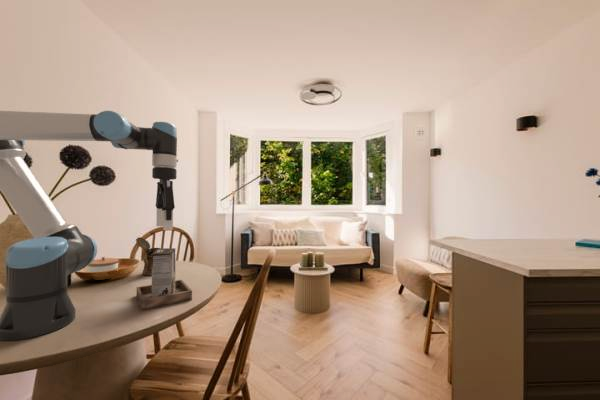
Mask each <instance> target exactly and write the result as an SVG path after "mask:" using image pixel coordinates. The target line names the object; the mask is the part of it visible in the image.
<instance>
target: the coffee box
mask: <svg viewBox="0 0 600 400" xmlns="http://www.w3.org/2000/svg"><path fill="white" fill-rule="evenodd" d="M175 281H176V248H168V247H167V248H166V247H165V248H161V249H156V250H155V252H154V253H153V254H152V275H151V285H152V298H154V297H159V296H164V295H169V294H174V293H175Z"/></svg>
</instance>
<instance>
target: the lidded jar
mask: <svg viewBox="0 0 600 400" xmlns="http://www.w3.org/2000/svg"><path fill="white" fill-rule="evenodd" d="M86 267H87V273H88V272H102V271H109V270H113V269H116V268H118V269H119V258H115V257H105V256H101V258H97V259H94V260H93V261H92V262H91V263H90V264H89V265H87V266H86Z"/></svg>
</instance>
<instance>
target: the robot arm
mask: <svg viewBox="0 0 600 400" xmlns="http://www.w3.org/2000/svg"><path fill="white" fill-rule="evenodd" d="M177 135H178V134H177V127H176V126H175V124H173V123H170V122H166V121H154V122H153V124H152V126H151V127H142V126H141V127H140V126H136V125H134V124H133V123H132V122H131V121H129V120H128V119H127V118H126V117H125V116H123V115H122V114H119V113H118V112H116V111H113V110H103V111H101V112H99V113H97V114H95V113H94V114H93V113H90V114H89V113H71V112H68V113H67V112H40V111H21V110H20V111H16V110H13V111H12V110H0V192H1V194H2V195H3V196H4V197H5V199H6V200H7V202H8V203H9V205H10V206H11V208H12V209H13V210H14V211H15V213H16V214H17V216H18V217H19V218H20V220H21V221H22V222H23V224H24V225H25V227H26V228H27V230H28V231H29V232H30V233H31V235H32V237H33V239H32V238H29V239H24V240H21V241H18V242H15V243H12V244H11V245H10V246H9V247H8V248H7V251H6V257H5V261H4V262H5V269H6V270H5V271H6V272H5V276H6V277H5V278H6V279H5V282H6V283H5V285H6V288H5V291H6V294H5V295H6V300H5V306H4V308H3V311H2V313H1V315H0V341H18V340H25V339H30V338H34V337H38V336H39V337H40V336H43V335H46V334H49V333H52V332H55V331H58V330H60V329H62V328H64V327H66V326H67V325H70V324H71V323H72V322H73V321H75V319H76V308H75V306H74V304H73V301H72V300H71V297H70V295H69V292H68V276H69V275H72V274H73V273H74V274H75V273H77V272H79V271H81V270H83V269H85V268H86V267H87V265H89V264H90V263H91V262H92V261H93V260H95V258H96V256H97V254H98V245H97V243H96V241H95V240H94V239H93V238H92V237H91V236H89V235H86V234H84V233H82V232H81V230H80V229H79V228H78V226H77V225H75V224H70V223H68V221H67V220H66V219H65V218H64V216H63V215H62V213H61V212H60V211H59V209H58V207H57V206H56V204H55V203H54V201H52V199H51V197H50V196H49V194H48V193H47V192H46V190H45V189H44V187H43V186H42V184H41V183H40V181H39V180H38V178H37V177H36V176H35V174H34V173H33V171H32V170H31V169H30V167H29V165H28V164H27V163H26V161H25V160H24V159H25V157H26V155H27V152H26V151H25V148H24V146H25V141H50V142H51V141H54V142H55V141H56V142H57V141H61V142H62V141H64V142H69V141H71V142H110V143H111V144H112V146H113V148H117V149H124V150H144V151H145V150H147V151H152V154H151V158H152V159H151V163H152V164H151V166H152V175H151V177H152V179H155V180H159V181H157V183H156V184H157V187H156V188H157V189H156V199H155V208H156V224H155V225H156V227H163V231H174V209H175V207H176V206H175V200H174V199H175V197H174V189H173V188H174V187H173V183H174V182H173V180H176V179H177V172H178V171H177V163H178V162H179V159H177V156H178V155H177V154H178V152H177V147H178V145H177V144H178V136H177Z"/></svg>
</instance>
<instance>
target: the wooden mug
mask: <svg viewBox="0 0 600 400" xmlns="http://www.w3.org/2000/svg"><path fill="white" fill-rule="evenodd" d="M135 241H136V244H137V246H138V247H139V248H141V249H142V250H143V251H142V261H143V264H144V266H143V270H142V275H144V276H151V277H152V254H153V253H154V252H155V250H156V249H162V248H160V247H152V248H151V245H150V243H149V240H146V239H144V238H142V237H137V238H136V239H135Z"/></svg>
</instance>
